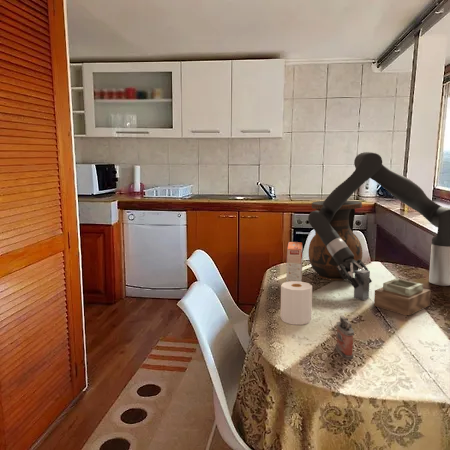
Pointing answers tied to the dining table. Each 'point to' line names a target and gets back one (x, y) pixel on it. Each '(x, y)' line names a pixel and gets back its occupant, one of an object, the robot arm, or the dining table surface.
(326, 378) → the dining table surface
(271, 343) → the dining table surface
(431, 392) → the dining table surface
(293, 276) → the cracker box
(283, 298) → the toilet paper
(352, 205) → the vase
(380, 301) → the stand
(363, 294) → the peg
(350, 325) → the lighter
